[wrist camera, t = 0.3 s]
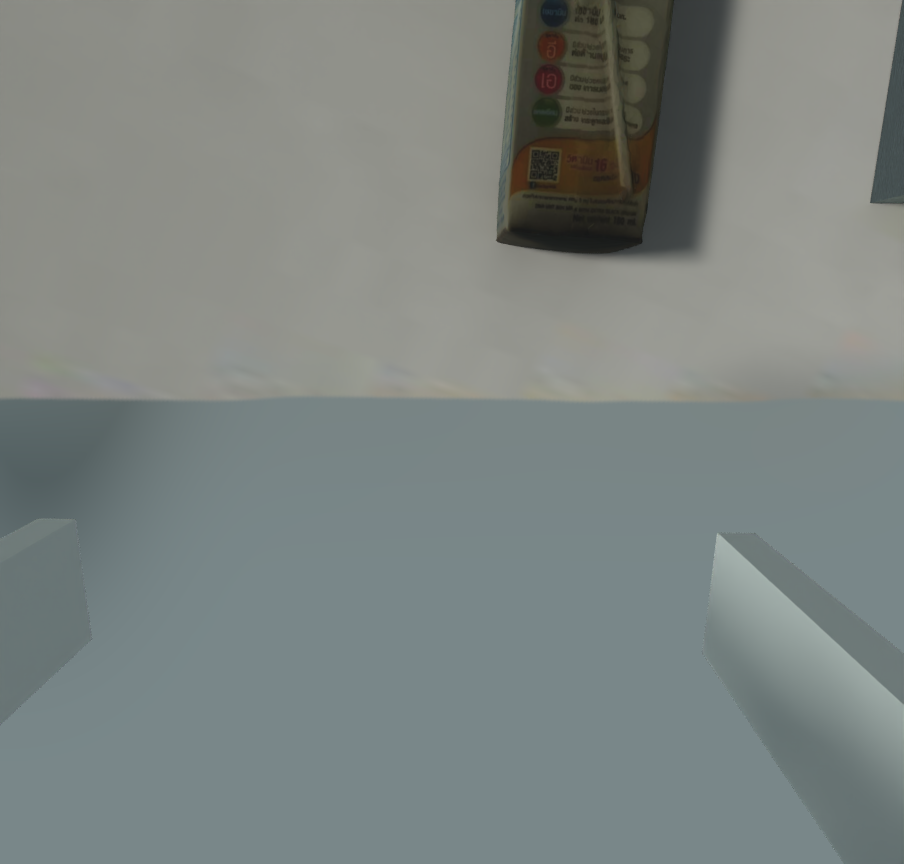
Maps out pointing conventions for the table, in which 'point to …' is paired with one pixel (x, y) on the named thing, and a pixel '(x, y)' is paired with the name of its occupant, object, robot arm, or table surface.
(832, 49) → the table surface
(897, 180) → the box
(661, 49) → the beverage carton
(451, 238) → the table surface
